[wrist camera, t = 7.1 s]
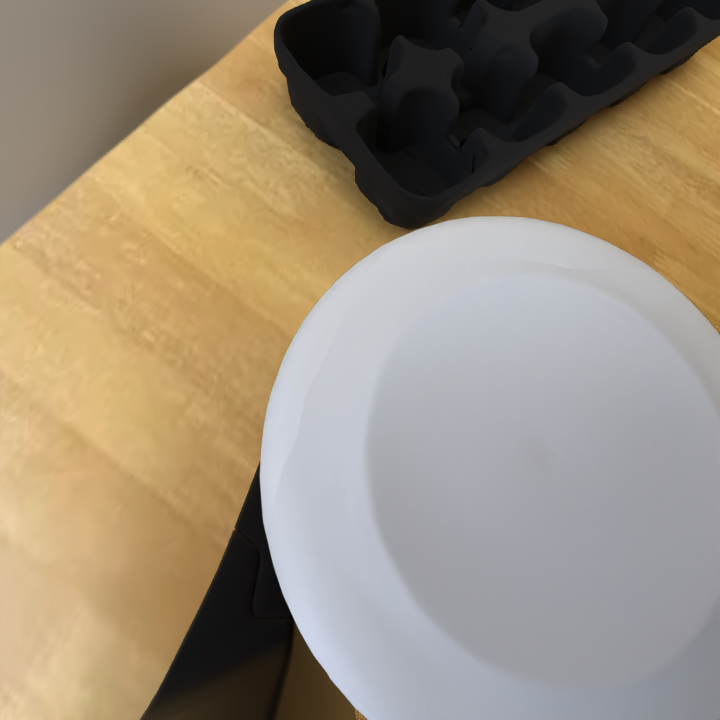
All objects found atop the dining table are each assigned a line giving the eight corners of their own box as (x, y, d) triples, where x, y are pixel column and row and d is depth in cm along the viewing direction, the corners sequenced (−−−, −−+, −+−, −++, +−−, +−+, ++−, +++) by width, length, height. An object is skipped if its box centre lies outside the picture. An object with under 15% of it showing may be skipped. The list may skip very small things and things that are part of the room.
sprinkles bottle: (365, 515, 15) (670, 1088, 2) (291, 444, 15) (90, 482, 2) (428, 437, 16) (909, 433, 3) (358, 372, 16) (499, 107, 3)
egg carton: (712, 42, 25) (780, -26, 21) (484, 322, 18) (526, 293, 14) (527, -92, 26) (560, -179, 22) (243, 120, 19) (224, 44, 15)
